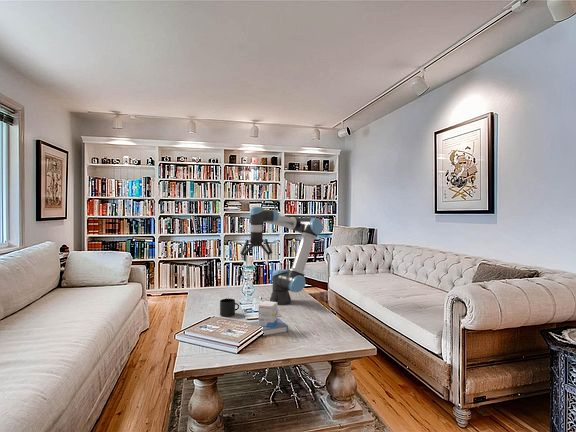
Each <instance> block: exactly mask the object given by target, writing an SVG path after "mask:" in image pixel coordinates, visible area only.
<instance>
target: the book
mask: <svg viewBox="0 0 576 432" xmlns="http://www.w3.org/2000/svg"><path fill="white" fill-rule="evenodd" d="M249 323H250V324H255V325H259V320H258V321H257V320H256V321H251V322H249ZM250 324H249V325H250ZM261 331H263V333H264V334H263V336H262V337H264V336H270V335H277V334H282V333H287V332H289V325H288V324H286V322H284V321H283V320H281V318H280V317H279V318H278V322H277V324H276V325H275V326H274V327H266V326H263V329H261Z"/></svg>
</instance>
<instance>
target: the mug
mask: <svg viewBox="0 0 576 432" xmlns="http://www.w3.org/2000/svg"><path fill="white" fill-rule="evenodd" d="M236 306H237V308H236ZM239 308H240V305H239V303H238V302H236V300H235V298H223V299H220V301H219V316H221V317H224V318H228V317H234V316H235V315H236V311H237V310H239Z"/></svg>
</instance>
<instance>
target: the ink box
mask: <svg viewBox="0 0 576 432" xmlns="http://www.w3.org/2000/svg"><path fill="white" fill-rule="evenodd" d="M277 303H278V302H270V300H263V301H262V302H260V303H259V304H258V305H257V307H258V309H257V310H258V321H259V326H266V327H274V326H275V325H276V324H277V322H278V311H279V310H278V306H279V305H277Z"/></svg>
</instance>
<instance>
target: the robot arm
mask: <svg viewBox="0 0 576 432" xmlns="http://www.w3.org/2000/svg"><path fill="white" fill-rule="evenodd" d="M249 219H250V239H247V238H246V239H245V241H244V244H243V246H242V249H241V252H240V255H241V256H242V257H243V258H242V261H244V266H245V267H248V256H247V255H248V253H249V252H250V251H251V250H252V249H253V247H259V248H260V247H261V249H262V250H263V252H265V265H267V266H268V265H269V260H270V255H271V254H273V251H272V248H271V246H270V244H269V242H268V239H267V238H264V239H263V236H264V235H263V233H264V232H263V225H264V223H266V224H269V225H273V226H278V227H283V228H287V229H289V230H291V231H294V232H297V233H300V234H301V239H300V242H299V245H298V247H297V251H296V254H295V256H294V259H293V263H292V266H291V268H289V269H275V270H274V271H272V275H271V276H272V278H271V279H272V281H271V282H272V284H271V285H272V287H271V288H272V291H271V294H270V297H269V301H270V302H278V303H277V305H278V306H279V305H280V306H283V305H288V304H291V303H292V298H291V295H290V292H292V293H299V292H301V291H303V289H304V288H305V287H306V278H305V276H306V275H305V272H304V271H305V268H306V265H307V261H308V259H309V255H310V252H311V249H312V246H313V243H314V241H315V240H316V239H317V237H318V235H320V234H322V233H323V229H324V225H323V222H322V220H320V219H319V218H318V217H317V218H316V217H295V216H291V217H289V216H285V215H284V216H283V215H281V214H279V212H278V211H277V210H276V209H275V210H274V209H263V207H262V206H251V208H250V211H249ZM263 243H264V244H265V245H264V244H263ZM248 244H249V246H248ZM265 246H266V247H265Z"/></svg>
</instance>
